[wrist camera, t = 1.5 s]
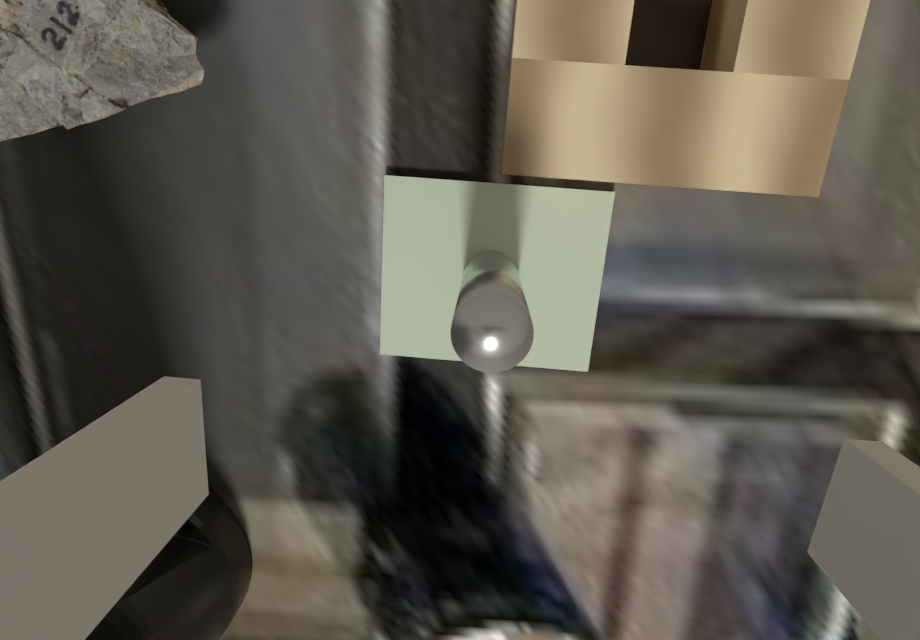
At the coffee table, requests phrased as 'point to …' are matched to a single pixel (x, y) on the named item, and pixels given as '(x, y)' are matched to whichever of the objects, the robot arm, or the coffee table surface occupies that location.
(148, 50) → the mineral specimen
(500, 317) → the pin
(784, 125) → the hole block
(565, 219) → the mat
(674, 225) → the coffee table surface
